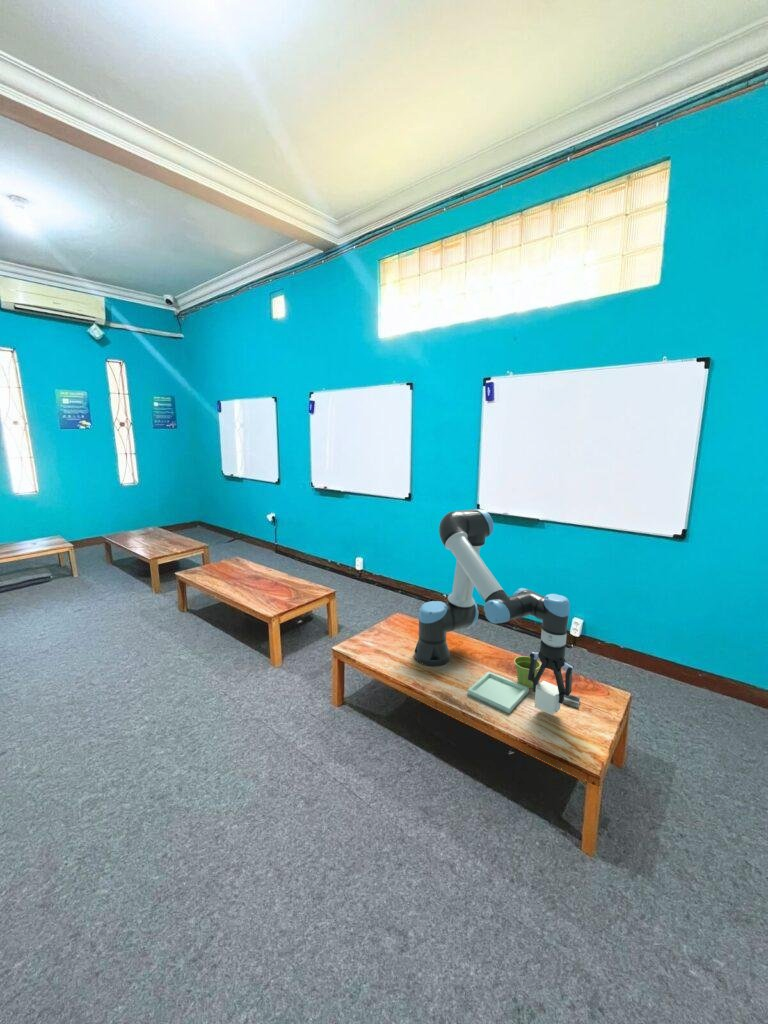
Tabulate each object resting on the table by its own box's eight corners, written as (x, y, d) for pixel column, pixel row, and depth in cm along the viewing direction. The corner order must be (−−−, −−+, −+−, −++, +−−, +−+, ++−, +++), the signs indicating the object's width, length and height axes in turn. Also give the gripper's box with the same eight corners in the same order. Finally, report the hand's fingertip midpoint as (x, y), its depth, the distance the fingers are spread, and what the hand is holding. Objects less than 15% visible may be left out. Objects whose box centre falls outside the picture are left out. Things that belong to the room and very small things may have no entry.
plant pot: (525, 693, 146) (526, 671, 145) (507, 679, 154) (508, 659, 153) (544, 687, 150) (546, 666, 148) (526, 674, 158) (527, 654, 157)
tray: (467, 694, 145) (467, 689, 145) (488, 676, 157) (488, 671, 157) (509, 714, 135) (509, 708, 134) (528, 692, 146) (528, 687, 146)
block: (534, 707, 134) (536, 688, 132) (541, 698, 138) (543, 680, 137) (552, 715, 130) (554, 696, 129) (559, 706, 134) (561, 687, 133)
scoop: (538, 695, 145) (538, 691, 144) (540, 690, 148) (541, 685, 148) (578, 708, 138) (578, 703, 137) (579, 701, 141) (579, 697, 141)
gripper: (520, 636, 133) (515, 698, 137) (580, 657, 121) (573, 725, 125) (529, 628, 139) (524, 688, 143) (588, 648, 126) (580, 713, 130)
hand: (547, 705), depth 134 cm, fingers closed on block, 6 cm apart
